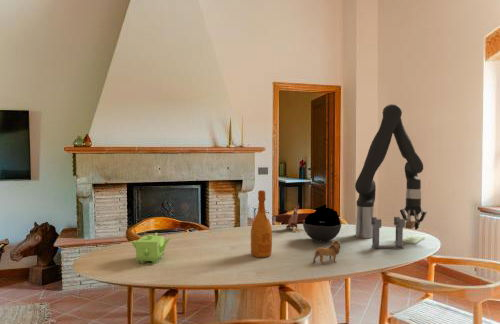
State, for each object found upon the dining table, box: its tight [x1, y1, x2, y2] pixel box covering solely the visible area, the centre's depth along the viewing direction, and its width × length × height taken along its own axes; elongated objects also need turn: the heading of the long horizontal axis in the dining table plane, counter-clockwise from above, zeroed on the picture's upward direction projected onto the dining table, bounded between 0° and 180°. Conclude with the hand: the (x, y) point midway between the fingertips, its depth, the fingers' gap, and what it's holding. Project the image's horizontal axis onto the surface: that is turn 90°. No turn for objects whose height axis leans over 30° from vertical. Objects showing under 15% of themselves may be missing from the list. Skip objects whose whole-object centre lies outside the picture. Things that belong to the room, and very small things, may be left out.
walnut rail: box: [404, 218, 421, 230], centre depth 201 cm, size 15×3×3 cm, turn 140°
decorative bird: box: [271, 203, 311, 233], centre depth 221 cm, size 28×18×15 cm, turn 111°
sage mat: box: [402, 234, 425, 245], centre depth 201 cm, size 17×8×1 cm, turn 140°
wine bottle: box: [250, 189, 273, 258], centre depth 171 cm, size 10×10×30 cm
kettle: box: [130, 232, 173, 264], centre depth 162 cm, size 15×14×11 cm
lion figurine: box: [312, 239, 342, 265], centre depth 161 cm, size 15×5×9 cm, turn 118°
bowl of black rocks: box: [302, 204, 342, 243], centre depth 197 cm, size 20×20×19 cm
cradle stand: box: [371, 216, 406, 250], centre depth 184 cm, size 15×6×15 cm, turn 95°
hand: (412, 228), depth 201 cm, fingers closed on walnut rail, 3 cm apart
